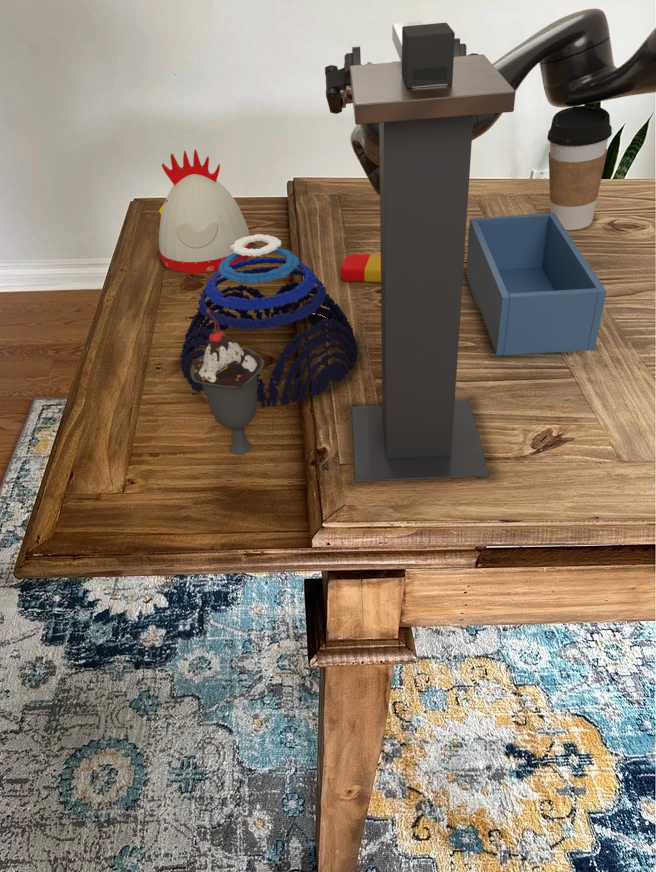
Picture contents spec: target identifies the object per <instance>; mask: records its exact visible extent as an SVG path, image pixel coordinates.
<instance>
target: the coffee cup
mask: <svg viewBox="0 0 656 872" xmlns="http://www.w3.org/2000/svg"><path fill="white" fill-rule="evenodd" d="M612 130H613V127H612V125H611V116H610V113H609V112H608V111H607V110H606V109H605V108H603V107H600V106H596V105H580V106H574V107H565V108H563V109H561V110H559V111H558V112H556V113H555V114H554V115H553V117H552V120H551V125H550V128H549V130H548V132H547V137H546V138H547V139H546V140H547V141H548V142H549V151H548V173H549V174H548V179H549V180H548V181H549V183H548V184H549V213H555V215H556V216H557V218H558V219H559V221H560V222H561V224H562V225H563V227H564V228H565V230H566V231H577V230H583V229H585V228H587V227H589V226H590V225H591V224H592V223H593V220H594V216H595V215H594V214H595V210H596V204H597V199H598V196H599V191H600V187H601V182H602V177H603V173H604V169H605V168H604V167H605V163H606V158H607V154H608V148H607V147H608V141H609V138H611V136H612V135H613V131H612Z"/></svg>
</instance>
